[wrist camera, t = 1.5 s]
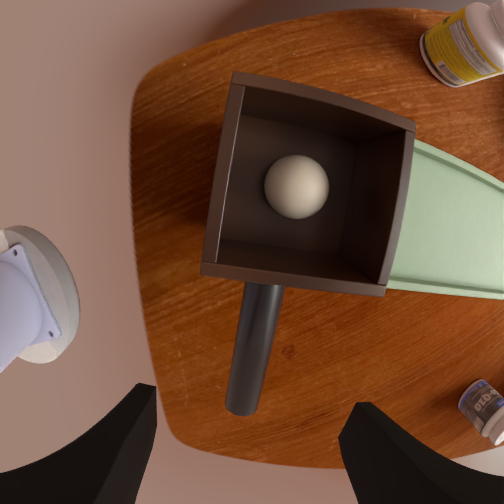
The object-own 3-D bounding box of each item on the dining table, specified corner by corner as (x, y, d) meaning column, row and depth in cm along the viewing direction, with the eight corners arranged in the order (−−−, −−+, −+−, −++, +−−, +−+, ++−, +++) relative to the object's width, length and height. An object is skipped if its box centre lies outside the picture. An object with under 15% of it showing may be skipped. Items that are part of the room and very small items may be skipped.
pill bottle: (485, 371, 24) (526, 407, 16) (482, 394, 25) (517, 429, 17) (457, 393, 24) (496, 435, 16) (455, 414, 25) (489, 454, 17)
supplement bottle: (449, 34, 15) (521, 0, 6) (471, 88, 17) (553, 70, 7) (407, 29, 15) (482, -21, 6) (431, 88, 17) (523, 59, 7)
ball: (273, 223, 14) (278, 231, 11) (255, 167, 14) (256, 162, 11) (327, 206, 14) (345, 210, 11) (310, 151, 13) (324, 143, 11)
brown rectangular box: (196, 361, 16) (187, 421, 11) (231, 106, 13) (233, 70, 8) (310, 371, 17) (333, 426, 12) (363, 136, 14) (416, 121, 9)
